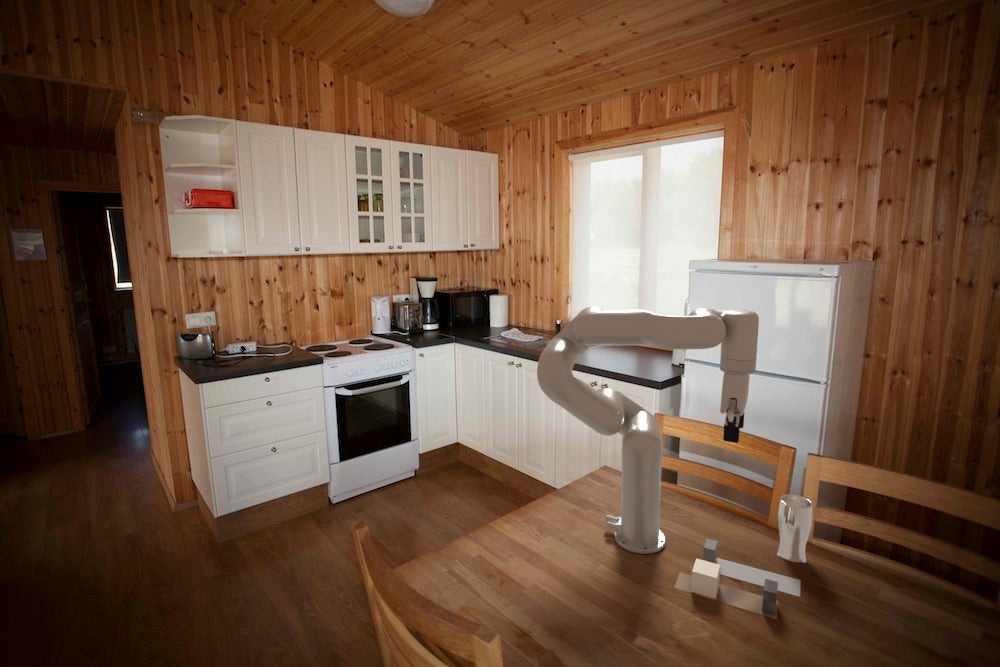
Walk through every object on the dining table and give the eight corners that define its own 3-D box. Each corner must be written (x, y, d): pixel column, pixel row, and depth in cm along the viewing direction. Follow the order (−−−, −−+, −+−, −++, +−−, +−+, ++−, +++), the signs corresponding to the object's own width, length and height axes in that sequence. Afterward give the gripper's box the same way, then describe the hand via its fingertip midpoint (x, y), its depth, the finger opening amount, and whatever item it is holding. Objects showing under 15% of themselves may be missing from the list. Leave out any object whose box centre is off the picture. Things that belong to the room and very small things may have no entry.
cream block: (691, 591, 114) (692, 571, 113) (695, 578, 118) (696, 558, 117) (715, 599, 112) (716, 578, 111) (719, 585, 116) (720, 564, 115)
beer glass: (812, 569, 122) (818, 510, 119) (780, 566, 123) (784, 507, 120) (802, 551, 128) (807, 494, 125) (771, 548, 130) (775, 492, 127)
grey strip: (700, 572, 122) (701, 549, 120) (705, 558, 127) (706, 535, 126) (799, 600, 112) (802, 575, 111) (800, 584, 117) (802, 560, 116)
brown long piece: (673, 591, 116) (674, 567, 114) (679, 576, 121) (680, 552, 119) (776, 623, 106) (778, 597, 104) (777, 604, 111) (779, 579, 110)
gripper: (725, 354, 130) (721, 419, 133) (714, 371, 115) (710, 444, 119) (759, 357, 126) (754, 424, 130) (752, 375, 112) (747, 450, 115)
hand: (733, 434), depth 124 cm, fingers open, 9 cm apart
